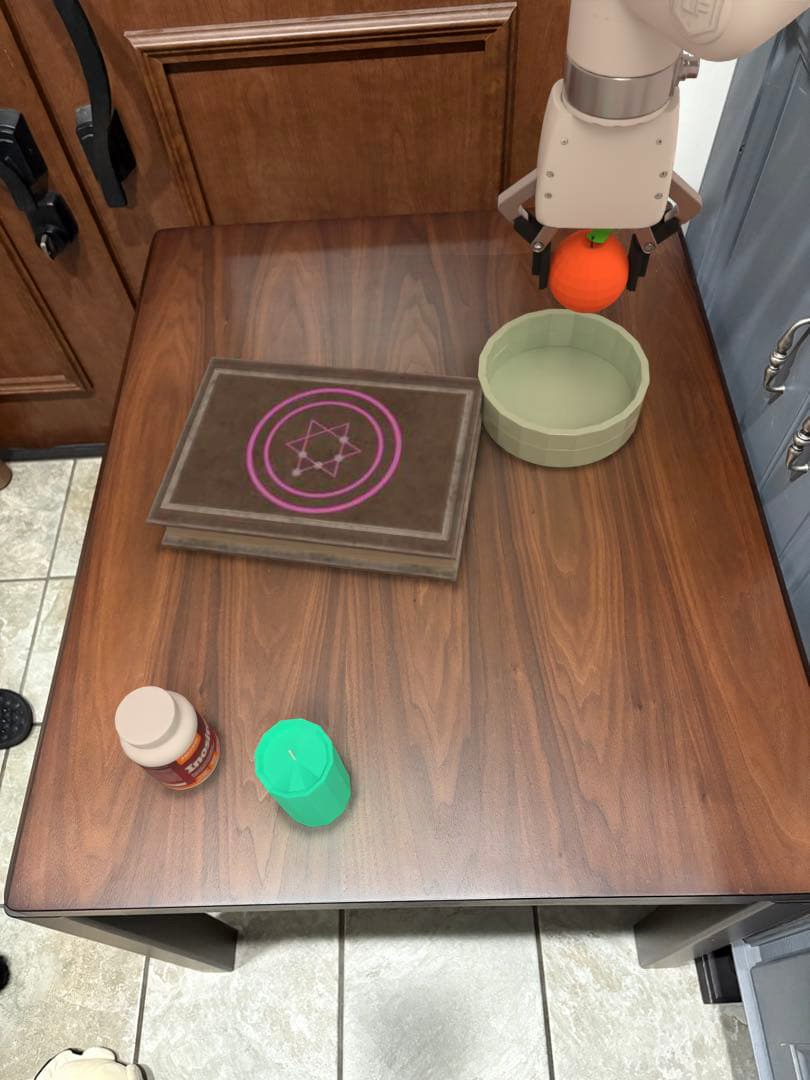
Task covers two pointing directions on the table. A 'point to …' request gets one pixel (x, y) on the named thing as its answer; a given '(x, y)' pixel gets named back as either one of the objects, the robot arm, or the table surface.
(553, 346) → the bowl
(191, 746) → the pill bottle
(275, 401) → the book
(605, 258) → the clementine
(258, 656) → the table surface
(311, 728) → the candle
